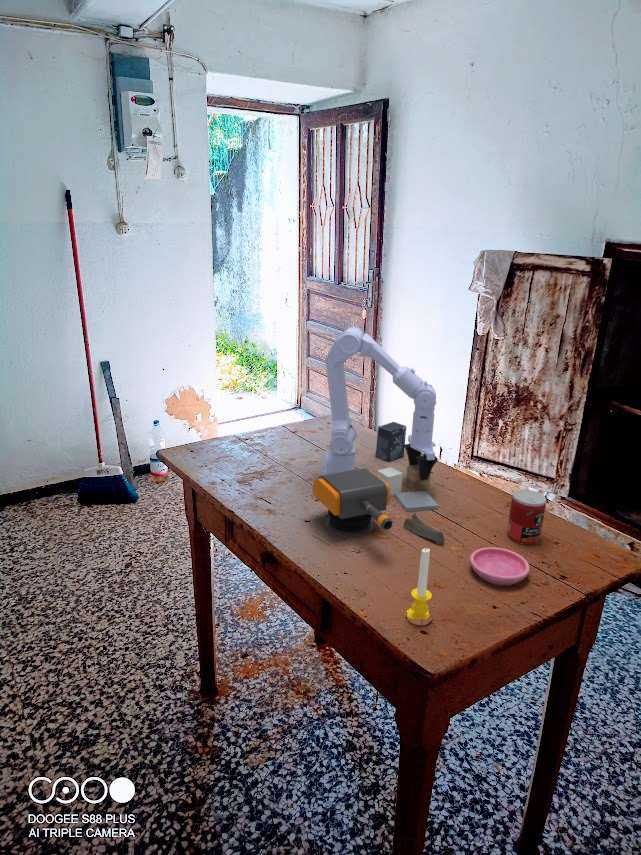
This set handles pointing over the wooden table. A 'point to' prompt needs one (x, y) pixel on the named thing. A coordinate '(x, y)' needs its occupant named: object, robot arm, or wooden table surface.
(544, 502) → the canned food
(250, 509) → the wooden table surface
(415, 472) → the walnut block
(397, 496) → the coaster
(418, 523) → the bone
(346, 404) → the robot arm
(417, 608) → the candle
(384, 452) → the box
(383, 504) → the sander
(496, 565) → the saucer
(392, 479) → the grey block
